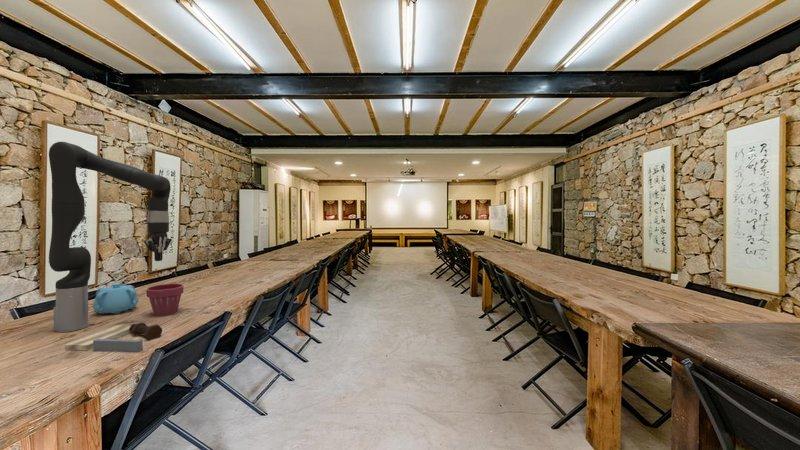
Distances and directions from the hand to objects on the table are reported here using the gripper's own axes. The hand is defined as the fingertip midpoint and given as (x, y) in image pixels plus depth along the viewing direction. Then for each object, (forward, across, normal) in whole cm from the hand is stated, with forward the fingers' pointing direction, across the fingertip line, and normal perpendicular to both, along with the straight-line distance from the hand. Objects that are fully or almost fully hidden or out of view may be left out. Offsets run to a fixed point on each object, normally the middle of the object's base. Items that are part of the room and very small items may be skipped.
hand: (158, 260), depth 139 cm
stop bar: (+27, +29, +9) cm, 41 cm away
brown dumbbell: (+28, +15, +6) cm, 32 cm away
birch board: (+27, +20, -5) cm, 34 cm away
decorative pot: (+27, -14, -32) cm, 44 cm away
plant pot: (+27, -13, -7) cm, 31 cm away
